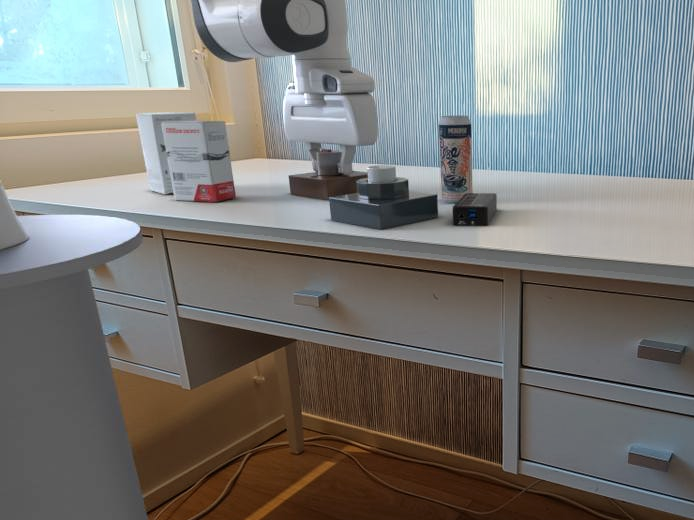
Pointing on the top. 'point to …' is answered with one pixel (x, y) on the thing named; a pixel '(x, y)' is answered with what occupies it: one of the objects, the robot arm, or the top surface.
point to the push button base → (383, 205)
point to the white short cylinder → (381, 173)
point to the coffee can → (455, 157)
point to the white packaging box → (158, 147)
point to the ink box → (199, 160)
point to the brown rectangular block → (324, 184)
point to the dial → (328, 162)
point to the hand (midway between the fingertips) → (332, 172)
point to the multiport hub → (475, 209)
